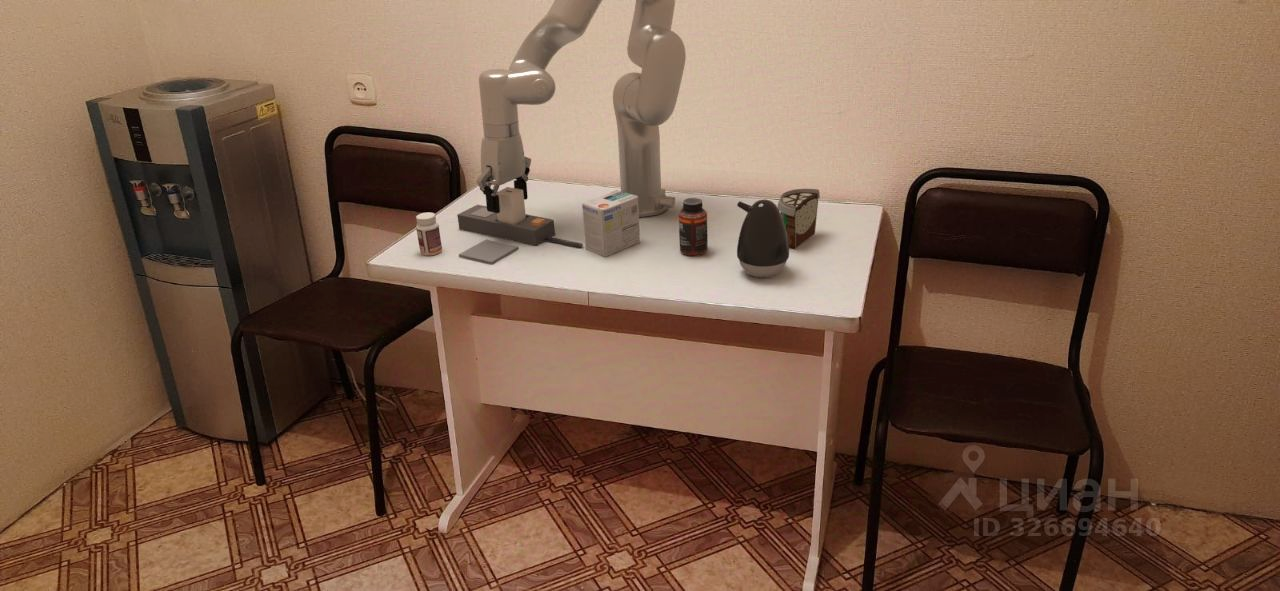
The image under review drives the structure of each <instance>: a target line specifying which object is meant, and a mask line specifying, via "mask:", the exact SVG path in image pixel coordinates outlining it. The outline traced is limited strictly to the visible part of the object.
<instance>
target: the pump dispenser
mask: <svg viewBox="0 0 1280 591" xmlns="http://www.w3.org/2000/svg"><path fill="white" fill-rule="evenodd" d="M777 206H778V205H777V204H776V203H775V202H773V201H772V200H770V199H759V200H757V201H755V202H754V203H752V205H751V204H748V203H745V202H743V201H737V207H738V208H739V209H741V210H743V211H745V212H746V216H745V217H744V220H743V222H742V223H741V224H742V225H741V228H740V231H739V236H738V239H737V240H738V241H737V247H736V248H737V249H736V257H737V258H738V262H739V264H740V266H741V269H743V270H744V271H745V272H746V274H748V275H751V276H753V277H755V278H756V277H757V278H770V277H773V276H776V275H778V274H779V273H780V272H781V271H782V270H783V269H784V267H786V266H785V265H786V263H787V261H788V259H789V257H790V248H789V243H788V236H787V231H786V227H785V224H784V221H783V218H782V215H781V211H779V209H778V208H777Z"/></svg>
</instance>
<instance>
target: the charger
mask: <svg viewBox="0 0 1280 591" xmlns="http://www.w3.org/2000/svg"><path fill="white" fill-rule="evenodd" d="M496 195H499V204H500V212H499V213H497V216H498V222H502V223H507V224H512V225H515V224H517V223H518V222H520V221H522V220H524V219H526V207H525V206H526V205H525V200H524V194H523V190H521V189H516V188H514V187H510V186H507V187H505V188H502V189H501V190H498V191H497V194H496Z"/></svg>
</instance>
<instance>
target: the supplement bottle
mask: <svg viewBox="0 0 1280 591" xmlns="http://www.w3.org/2000/svg"><path fill="white" fill-rule="evenodd" d="M703 206H704V205H703V200H702V199H701V198H699V197H687V198H685V199H683V201H682V209H680V211H678V233H679V234H678V237H679V239H678V240H679V241H678V242H679V243H678V244H679V251H680V253H681V254H682V255H685V256H690V257H695V256H696V257H697V256H701V255H704V254H706V253H707V251H708V236H709V235H708V212H707V210H705V208H704V207H703Z"/></svg>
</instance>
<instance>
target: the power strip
mask: <svg viewBox="0 0 1280 591" xmlns="http://www.w3.org/2000/svg"><path fill="white" fill-rule="evenodd" d="M456 216H457V222H458V229H459V230H460V231H465V232H470V233H473V234H478V235H484V236H489V237H493V238H498V239H503V240H507V241H512V242H515V243H516V242H517V243H521V244H524V245H530V246H535V247H537V246H539V245H540V244H543V243H544V242H545V241H548V242H552V243H556V244H561V245H566V246H570V247H575V248H580V249H582V248H583V246H584V244H583V243H582V242H577V241H572V240H568V239H563V238H557V237H554V236H555V235H556V230H555V229H556V228H555V227H556V226H555V220H554V219H551V218H547V217H541V216H537V215H532V214H526V219H524V220H522V221H520V222H518V223H517V224H515V225H512V224H507V223H502V222H498V216H497V213H493V212H489V211H487V205H481V204H476V205H473V206H472V207H470V208H468V209H466V210H464V211H462V212H460V213H458V214H457V215H456Z"/></svg>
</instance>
